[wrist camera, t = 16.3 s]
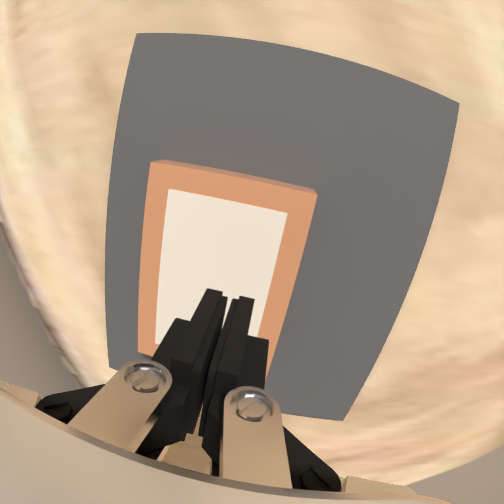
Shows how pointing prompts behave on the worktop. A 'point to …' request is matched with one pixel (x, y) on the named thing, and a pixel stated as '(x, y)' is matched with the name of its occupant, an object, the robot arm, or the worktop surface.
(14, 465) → the robot arm
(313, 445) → the worktop surface
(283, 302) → the block
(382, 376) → the worktop surface
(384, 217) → the mat
